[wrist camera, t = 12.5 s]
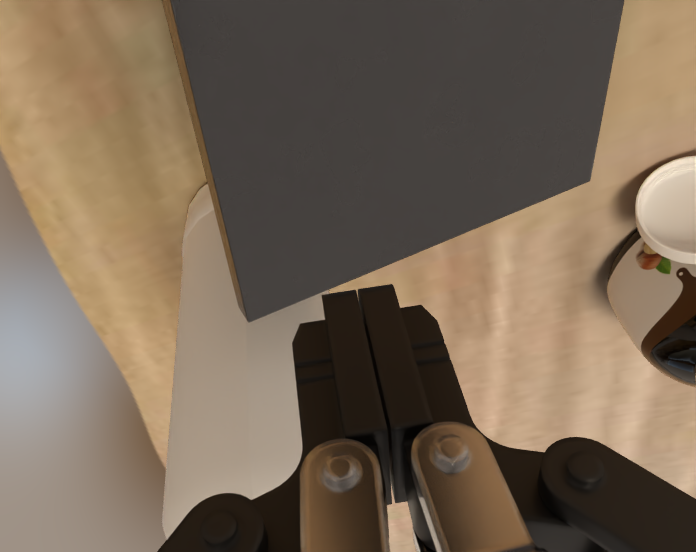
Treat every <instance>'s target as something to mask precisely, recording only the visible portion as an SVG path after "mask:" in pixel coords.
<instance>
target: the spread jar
mask: <svg viewBox="0 0 696 552" xmlns="http://www.w3.org/2000/svg"><path fill="white" fill-rule="evenodd" d="M635 216H636V225H637V228H638V231H637V232H635V233H634V234H633V235H632V236H631V237H630V238H629V240H628V241H627V242H626V243H625V244H624V246H623V247H622V249H621V250H620V252H619V254H618V255H617V257H616V259H615V261H614V263H613V265H612V268H611V271H610V273H609V277H608V284H607V294H608V298H609V302H610V304H611V307H612V309H613V311H614V313H615V315H616V317H617V318H618V320H619V322H620V323H621V325H622V326H623V328H624V329H625V331H626V332H627V334H628V336H629V337H630V339H631V340H632V341H633V343H634V344H635V346H636V347H637V348H638V350H639V351H640V352H641V353H642V354H643V356H644V357H645V358H646V359H647V360H648V361H649V362H650V363H651V364H652V365H653V366H654V367H656V368H657V369H658V370H659V371H660V372H661V373H663V374H664V375H666V376H668V377H670V378H672V379H674V380H676V381H678V382H680V383H683V384H686V385H689V386H692V387H696V156H689V157H683V158H680V159H676V160H673V161H671V162H668V163H666V164H664V165H662V166H661V167H659V168H658V169H656V170H655V171H653V172H652V173H651V174H650V175H649V176H648V177H647V178H646V179H645V181H644V182H643V184H642V185H641V187H640V189H639V191H638V194H637V197H636V204H635Z"/></svg>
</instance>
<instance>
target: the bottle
mask: <svg viewBox="0 0 696 552" xmlns="http://www.w3.org/2000/svg"><path fill="white" fill-rule="evenodd" d="M182 257H183V265H182V278H181V290H180V303H179V315H178V328H177V340H176V353H175V365H174V378H173V390H172V403H171V415H170V428H169V440H168V453H167V465H166V478H165V490H164V502H163V516H162V525H163V529H164V533H165V537H166V540H167V539H168V538H169V536H170V535H171V534H172V533H173V531H174V530H175V529H176V528H177V526H178V525H179V524H180V523H181V521H182V520H183V519H184V518H185V516H186V515H187V514H188V513H189V512H190V511H191V509H192V508H193V507H195V506H196V505H197V504H198V503H199V502H201V501H203V500H204V499H206V498H208V497H211V496H213V495H217V494H222V493H235V494H240V495H243V496H245V497H247V498H249V499H250V500H253V499H255V498H257V497H259V496H261V495H263V494H265V493H267V492H269V491H271V490H273V489H274V488H276V487H278V486H280V485H281V484H282V483H284V482H285V481H286V480H287V479H288V478H289V477H290V476H291V475H292V474H293V472H294V471H295V470H296V468H297V466H298V464H299V462H300V459H301V456H302V436H301V426H300V416H299V407H298V397H297V388H296V378H295V367H294V359H293V349H292V342H293V339H294V337H295V334H296V332H297V330H298V327H299V325H300V323H306V322H313V321H319V320H325V318H324V310H323V303H322V295H324V294H329V291H328V290H327V291H324V292H322V293H319V294H317V295H315V296H312V297H310V298H307V299H305V300H303V301H300V302H298V303H295V304H293V305H291V306H288V307H286V308H283V309H281V310H279V311H276V312H274V313H271V314H269V315H267V316H264V317H262V318H259V319H257V320H254V321H252V322H250V323H249V322H248V321H247V320H246V318H245V317H244V315H243V314H242V312H241V310H240V309H239V307H238V303H237V299H236V295H235V291H234V287H233V283H232V279H231V275H230V271H229V267H228V263H227V259H226V255H225V251H224V247H223V243H222V239H221V235H220V231H219V227H218V223H217V219H216V215H215V211H214V207H213V203H212V199H211V195H210V191H209V187H208V184H206V185H205V186H203V187H202V188H200V190H199V191H198V193H197V194H196V196H195V197H194V199H193V200H192V202H191V203H190V205H189V208H188V214H187V218H186V224H185V230H184V236H183V242H182Z"/></svg>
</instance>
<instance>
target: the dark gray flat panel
mask: <svg viewBox="0 0 696 552" xmlns="http://www.w3.org/2000/svg"><path fill="white" fill-rule="evenodd" d="M162 2H163V6H164V10H165V14H166V18H167V22H168V26H169V30H170V34H171V38H172V42H173V46H174V50H175V54H176V58H177V62H178V66H179V70H180V74H181V78H182V82H183V86H184V90H185V94H186V98H187V102H188V106H189V110H190V114H191V118H192V122H193V126H194V130H195V134H196V139H197V143H198V147H199V151H200V155H201V159H202V163H203V167H204V171H205V175H206V179H207V183H208V187H209V191H210V195H211V199H212V203H213V207H214V211H215V215H216V219H217V223H218V227H219V231H220V235H221V239H222V243H223V247H224V251H225V255H226V259H227V263H228V267H229V271H230V275H231V279H232V283H233V287H234V291H235V295H236V299H237V303H238V307H239V309H240V310H241V312H242V314H243V315H244V317H245V318H246V320H247V321H248V322H249V323H250V322H252V321H254V320H257V319H259V318H262V317H264V316H267V315H269V314H271V313H274V312H276V311H279V310H281V309H283V308H286V307H288V306H291V305H293V304H295V303H298V302H300V301H303V300H305V299H307V298H310V297H312V296H315V295H317V294H319V293H322V292H324V291H327V290H329V289H331V288H334V287H336V286H339V285H341V284H343V283H346V282H348V281H351V280H353V279H356V278H358V277H360V276H363V275H365V274H368V273H370V272H372V271H375V270H377V269H380V268H382V267H384V266H387V265H389V264H392V263H394V262H396V261H399V260H401V259H404V258H406V257H408V256H411V255H413V254H416V253H418V252H420V251H423V250H425V249H428V248H430V247H433V246H435V245H437V244H440V243H442V242H445V241H447V240H449V239H452V238H454V237H457V236H459V235H461V234H464V233H466V232H469V231H471V230H473V229H476V228H478V227H481V226H483V225H485V224H488V223H490V222H493V221H495V220H497V219H500V218H502V217H505V216H507V215H509V214H512V213H514V212H517V211H519V210H522V209H524V208H526V207H529V206H531V205H534V204H536V203H538V202H541V201H543V200H546V199H548V198H550V197H553V196H555V195H558V194H560V193H562V192H565V191H567V190H570V189H572V188H574V187H577V186H579V185H582V184H584V183H586V182H589V181H590V179H591V173H592V168H593V163H594V158H595V152H596V147H597V142H598V137H599V131H600V126H601V121H602V116H603V110H604V105H605V100H606V94H607V89H608V84H609V79H610V73H611V68H612V63H613V58H614V52H615V47H616V42H617V36H618V31H619V26H620V21H621V15H622V10H623V5H624V0H162Z"/></svg>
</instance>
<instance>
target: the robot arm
mask: <svg viewBox="0 0 696 552" xmlns="http://www.w3.org/2000/svg"><path fill="white" fill-rule="evenodd" d="M358 300H359V301H358ZM322 303H323V310H324V318H325V320H319V321H313V322H306V323H300V325H299V327H298V330H297V332H296V334H295V337H294V339H293V342H292V349H293V359H294V367H295V378H296V388H297V397H298V407H299V416H300V426H301V436H302V456H301V459H300V462H299V464H298V466H297V468H296V470H295V471H294V472H293V474H292V475H291V476H290V477H289V478H288V479H287V480H286V481H285V482H284V483H282V484H281V485H280V486H278V487H276V488H274V489H273V490H271V491H269V492H267V493H265V494H263V495H261V496H259V497H257V498H255V499H253V500H250V499H249V498H247V497H245V496H243V495H240V494H235V493H222V494H217V495H213V496H211V497H208V498H206V499H204V500H203V501H201V502H199V503H198V504H197V505H196V506H195V507H193V508H192V509H191V511H190V512H189V513H188V514H187V515H186V516H185V518H184V519H183V520H182V521H181V523H180V524H179V525H178V526H177V528H176V529H175V530H174V531H173V533H172V534H171V535H170V536H169V538H168V539H167V540H166V542H165V543H164V544H163V545H162V547H161V548H160V549H159V550H158V552H390V548H389V529H388V514H387V505H389V504H392V497H391V485H392V490H393V495H394V499H395V503H400V502H405V501H408V506H409V510H410V514H411V519H412V523H413V540H414V544H415V548H416V551H417V552H696V499H695V498H693V497H691V496H690V495H688V494H686V493H684V492H683V491H681V490H679V489H678V488H676V487H674V486H673V485H671V484H669V483H668V482H666V481H664V480H663V479H661V478H659V477H657V476H656V475H654V474H652V473H651V472H649V471H647V470H646V469H644V468H642V467H641V466H639V465H637V464H636V463H634V462H632V461H630V460H629V459H627V458H625V457H624V456H622V455H620V454H619V453H617V452H615V451H614V450H612V449H610V448H608V447H607V446H605V445H603V444H601V443H599V442H597V441H594V440H591V439H587V438H582V437H569V438H564V439H561V440H559V441H556V442H555V443H553V444H552V445H551V446H549V447H548V448H547V450H546V451H545V453H544V452H537V451H529V450H521V449H514V448H509V447H506V446H503V445H500V444H498V443H496V442H493V441H492V440H490V439H489V438H487V437H486V436H485V435H483V434H482V433H481V432H480V431H479V430H478V429H477V427H476V426H475V424H474V423H473V421H472V419H471V416H470V414H469V411H468V408H467V405H466V402H465V399H464V396H463V394H462V391H461V388H460V385H459V382H458V379H457V376H456V373H455V371H454V368H453V365H452V362H451V360H450V357H449V353H448V350H447V348H446V345H445V344H444V339H443V336H442V333H441V330H440V328H439V325H438V322H437V320H436V319H435V318H434V317H433V316H432V315H431V314H430V313H429V312H428V311H427V310H426V309H425V308H424V307H423V306H422V305H417V306H410V307H404V308H400V306H399V303H398V299H397V296H396V293H395V289H394V286H393V285H392V284H390V285H383V286H376V287H370V288H363V289H358V297H357V293H356V290H351V291H344V292H337V293H331V294H324V295H322Z"/></svg>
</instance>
